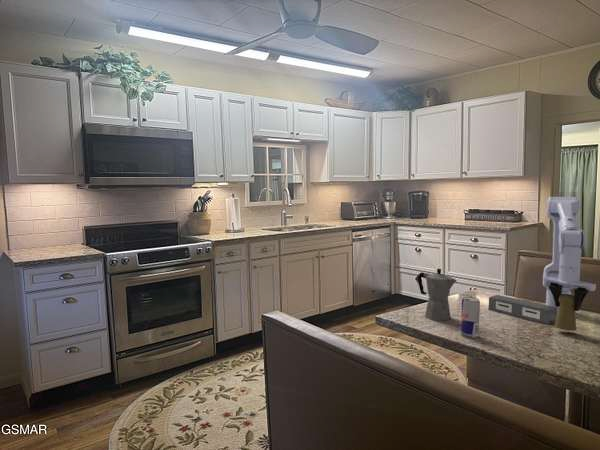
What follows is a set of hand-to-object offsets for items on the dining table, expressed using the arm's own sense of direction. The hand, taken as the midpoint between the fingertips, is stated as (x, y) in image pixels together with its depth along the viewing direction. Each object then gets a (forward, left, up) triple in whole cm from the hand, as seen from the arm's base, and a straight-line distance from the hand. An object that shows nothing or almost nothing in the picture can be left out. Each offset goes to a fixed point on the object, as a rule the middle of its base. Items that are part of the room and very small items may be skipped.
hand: (567, 308), depth 136 cm
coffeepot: (+20, -36, -8) cm, 42 cm away
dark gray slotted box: (-7, -18, -8) cm, 21 cm away
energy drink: (+28, -17, -8) cm, 34 cm away
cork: (+1, 0, -7) cm, 7 cm away
